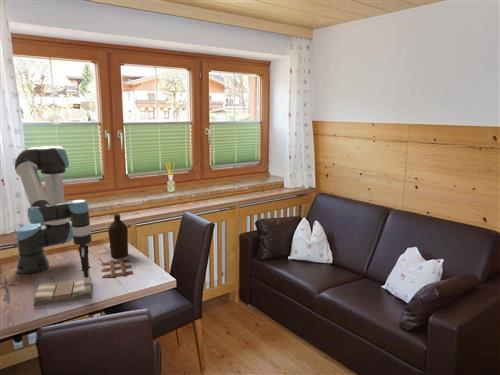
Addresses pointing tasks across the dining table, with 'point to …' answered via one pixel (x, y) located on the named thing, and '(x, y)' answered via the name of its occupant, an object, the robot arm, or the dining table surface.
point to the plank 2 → (81, 287)
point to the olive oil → (118, 238)
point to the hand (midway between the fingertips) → (87, 282)
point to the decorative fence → (117, 268)
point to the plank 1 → (45, 292)
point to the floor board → (64, 294)
